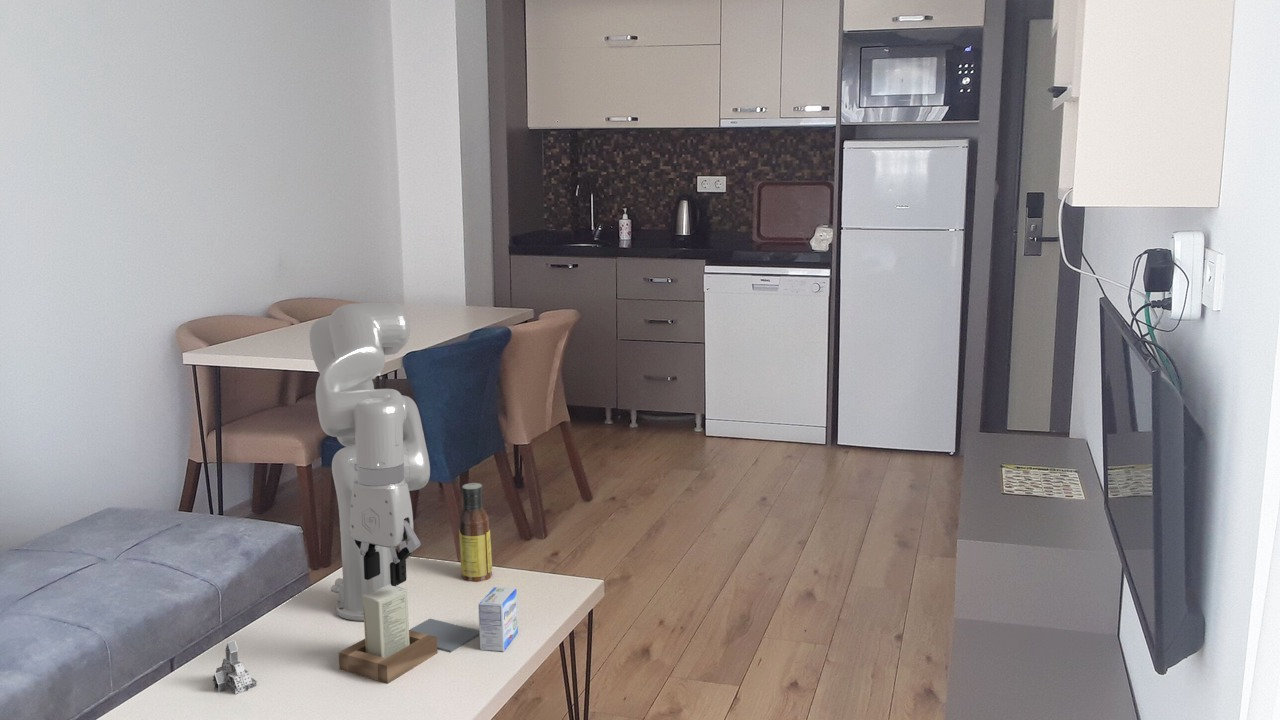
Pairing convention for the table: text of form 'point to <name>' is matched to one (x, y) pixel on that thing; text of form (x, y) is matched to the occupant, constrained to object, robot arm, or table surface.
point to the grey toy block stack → (233, 673)
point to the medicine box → (498, 619)
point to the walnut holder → (394, 665)
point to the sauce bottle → (474, 536)
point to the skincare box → (386, 621)
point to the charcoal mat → (446, 634)
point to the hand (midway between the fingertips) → (385, 579)
